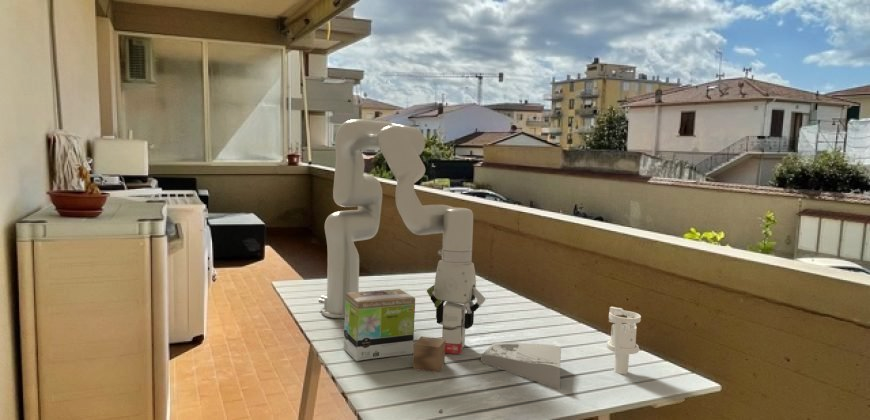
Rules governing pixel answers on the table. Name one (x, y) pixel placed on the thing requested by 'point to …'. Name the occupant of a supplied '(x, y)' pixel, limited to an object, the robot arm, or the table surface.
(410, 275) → the table surface
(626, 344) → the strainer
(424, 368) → the walnut block
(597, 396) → the table surface
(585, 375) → the table surface
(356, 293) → the tea box
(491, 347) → the ramp
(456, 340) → the ink box
